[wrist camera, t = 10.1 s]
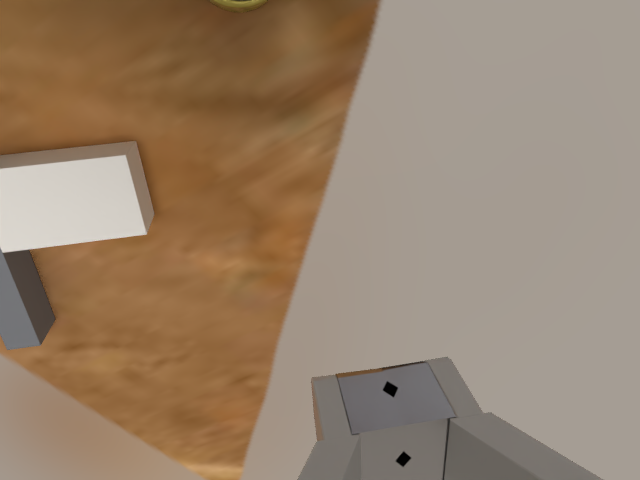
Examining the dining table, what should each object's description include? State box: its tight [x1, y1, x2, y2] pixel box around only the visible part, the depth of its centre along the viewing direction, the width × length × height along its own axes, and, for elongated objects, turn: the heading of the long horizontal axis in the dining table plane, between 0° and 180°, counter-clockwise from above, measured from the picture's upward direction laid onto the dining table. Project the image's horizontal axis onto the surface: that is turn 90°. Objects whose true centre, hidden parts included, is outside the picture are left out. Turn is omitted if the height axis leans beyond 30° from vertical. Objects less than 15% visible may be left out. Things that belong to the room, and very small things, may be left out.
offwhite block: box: [0, 141, 154, 253], centre depth 35 cm, size 6×10×4 cm, turn 94°
